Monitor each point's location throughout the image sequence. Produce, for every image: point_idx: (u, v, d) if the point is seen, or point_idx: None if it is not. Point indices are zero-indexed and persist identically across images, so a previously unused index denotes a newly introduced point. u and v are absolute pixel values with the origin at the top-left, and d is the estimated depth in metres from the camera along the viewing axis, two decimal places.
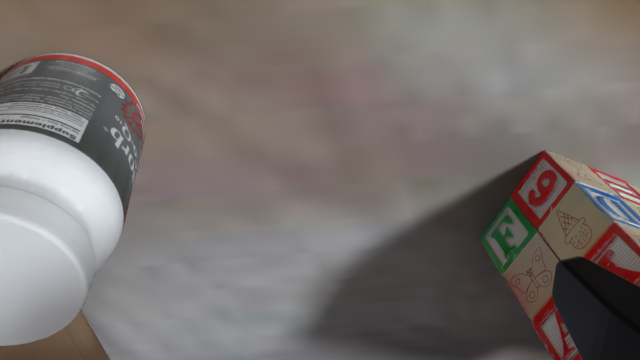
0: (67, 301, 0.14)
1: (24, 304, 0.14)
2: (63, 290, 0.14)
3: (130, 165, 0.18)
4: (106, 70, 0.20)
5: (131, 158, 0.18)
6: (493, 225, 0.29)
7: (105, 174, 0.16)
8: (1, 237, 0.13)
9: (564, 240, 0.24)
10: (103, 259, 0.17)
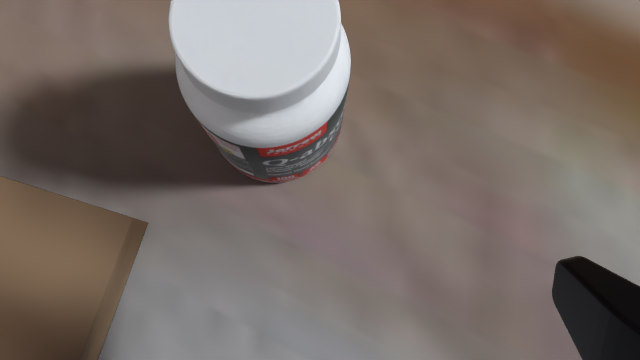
0: (297, 69, 0.14)
1: (261, 50, 0.14)
2: (304, 55, 0.14)
3: (340, 116, 0.19)
4: None
5: (340, 118, 0.20)
6: None
7: (350, 66, 0.17)
8: None
9: None
10: (299, 124, 0.16)
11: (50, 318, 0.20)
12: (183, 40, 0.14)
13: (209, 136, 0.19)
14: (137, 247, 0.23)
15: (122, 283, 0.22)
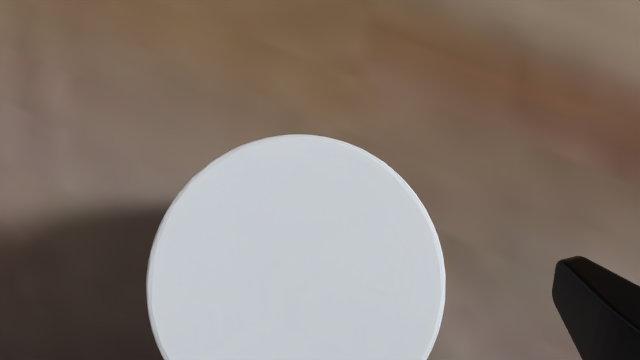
0: None
1: (311, 343, 0.08)
2: (386, 354, 0.08)
3: None
4: None
5: None
6: None
7: None
8: (381, 213, 0.08)
9: None
10: None
11: None
12: (171, 328, 0.08)
13: None
14: None
15: None
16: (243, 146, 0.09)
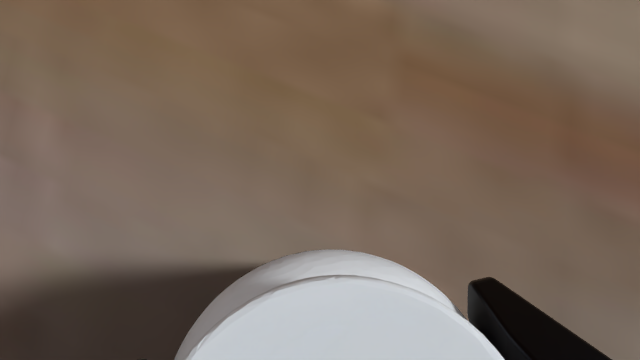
0: None
1: None
2: None
3: None
4: None
5: None
6: None
7: None
8: None
9: None
10: None
11: None
12: None
13: None
14: None
15: None
16: (270, 295, 0.06)
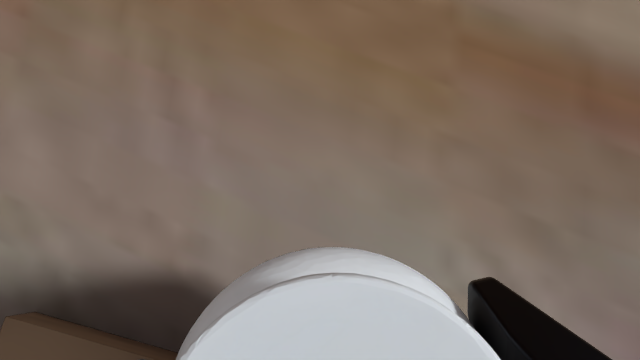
0: None
1: None
2: None
3: None
4: None
5: None
6: None
7: None
8: None
9: None
10: None
11: None
12: None
13: None
14: None
15: None
16: (268, 292, 0.06)
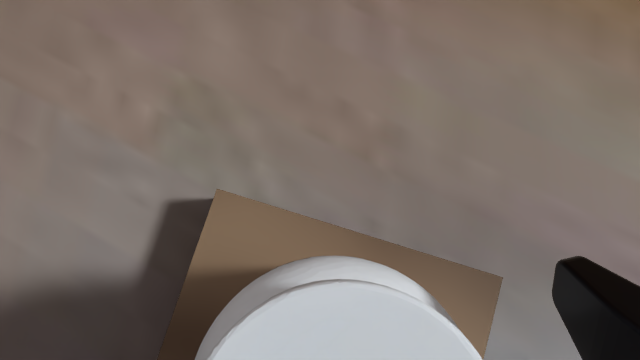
0: None
1: None
2: None
3: None
4: None
5: None
6: None
7: None
8: None
9: None
10: None
11: None
12: None
13: None
14: None
15: None
16: (286, 295, 0.08)
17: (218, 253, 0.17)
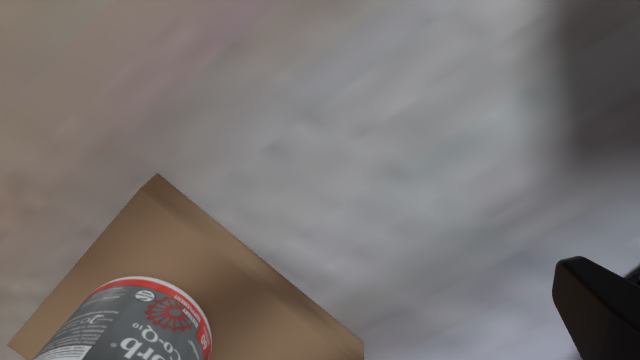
0: None
1: None
2: None
3: None
4: (137, 280, 0.21)
5: (158, 358, 0.18)
6: None
7: None
8: None
9: None
10: None
11: (205, 288, 0.22)
12: None
13: None
14: (177, 191, 0.22)
15: (205, 218, 0.22)
16: None
17: None
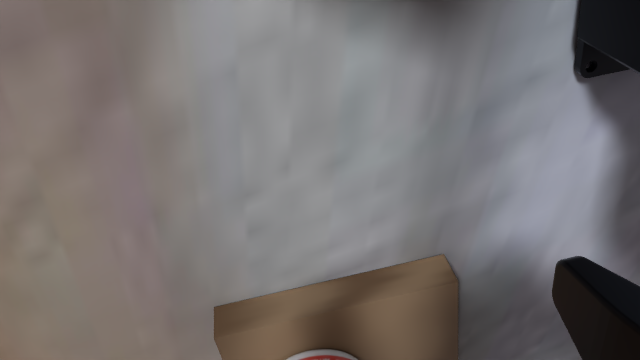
0: None
1: None
2: None
3: None
4: None
5: None
6: None
7: None
8: None
9: None
10: None
11: (313, 338, 0.26)
12: None
13: None
14: (235, 304, 0.26)
15: (267, 301, 0.26)
16: None
17: None
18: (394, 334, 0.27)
